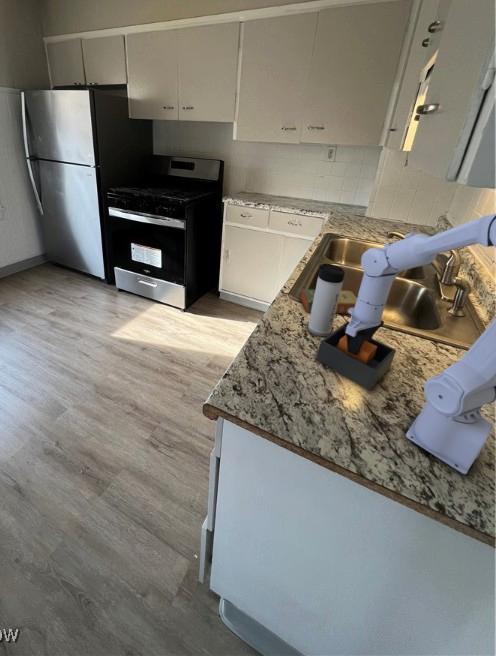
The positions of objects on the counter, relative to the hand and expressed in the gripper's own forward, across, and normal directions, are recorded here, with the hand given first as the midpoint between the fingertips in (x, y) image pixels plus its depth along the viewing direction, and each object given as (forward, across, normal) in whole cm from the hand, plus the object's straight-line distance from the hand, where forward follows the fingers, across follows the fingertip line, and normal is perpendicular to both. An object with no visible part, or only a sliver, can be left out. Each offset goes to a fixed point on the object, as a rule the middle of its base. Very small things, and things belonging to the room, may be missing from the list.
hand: (357, 348), depth 75 cm
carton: (+5, -20, -18) cm, 27 cm away
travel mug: (+5, -6, -13) cm, 15 cm away
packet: (+1, 0, 0) cm, 1 cm away
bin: (+5, 0, 0) cm, 5 cm away
